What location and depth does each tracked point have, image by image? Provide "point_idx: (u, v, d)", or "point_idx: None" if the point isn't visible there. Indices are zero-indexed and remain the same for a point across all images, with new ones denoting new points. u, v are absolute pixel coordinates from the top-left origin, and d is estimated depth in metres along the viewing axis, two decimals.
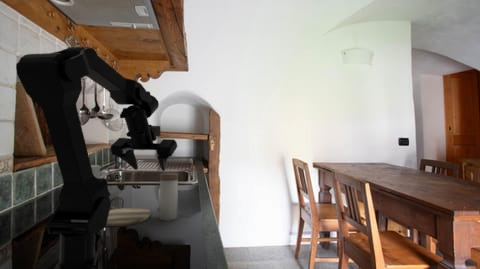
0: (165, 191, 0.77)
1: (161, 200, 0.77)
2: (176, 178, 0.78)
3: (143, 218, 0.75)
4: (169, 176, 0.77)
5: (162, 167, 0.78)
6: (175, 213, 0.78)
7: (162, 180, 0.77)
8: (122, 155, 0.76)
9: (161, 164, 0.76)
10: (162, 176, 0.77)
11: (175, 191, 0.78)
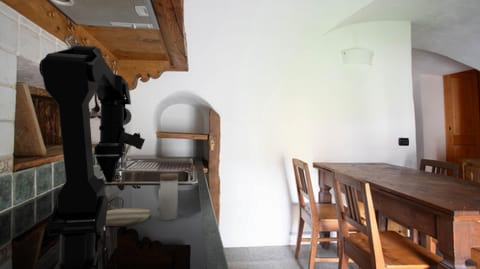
0: (165, 191, 0.77)
1: (161, 200, 0.77)
2: (176, 178, 0.78)
3: (143, 218, 0.75)
4: (169, 176, 0.77)
5: None
6: (175, 213, 0.78)
7: (162, 180, 0.77)
8: None
9: (101, 168, 0.64)
10: (162, 176, 0.77)
11: (175, 191, 0.78)
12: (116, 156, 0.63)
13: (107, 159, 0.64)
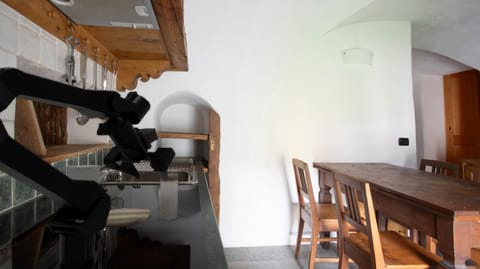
0: (165, 191, 0.77)
1: (161, 200, 0.77)
2: (176, 178, 0.78)
3: (143, 218, 0.75)
4: (169, 176, 0.77)
5: (162, 177, 0.68)
6: (175, 213, 0.78)
7: (162, 180, 0.77)
8: (117, 168, 0.67)
9: (160, 175, 0.66)
10: None
11: (175, 191, 0.78)
12: None
13: None
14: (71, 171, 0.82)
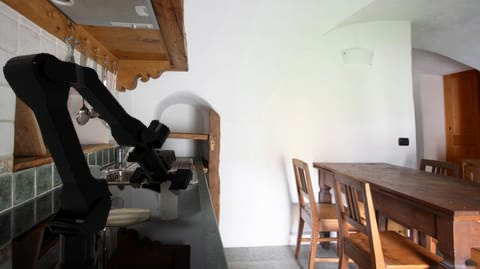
0: (165, 191, 0.77)
1: (161, 200, 0.77)
2: None
3: (143, 218, 0.75)
4: None
5: (176, 194, 0.77)
6: (175, 213, 0.78)
7: None
8: (146, 187, 0.75)
9: (174, 192, 0.76)
10: None
11: None
12: None
13: None
14: None
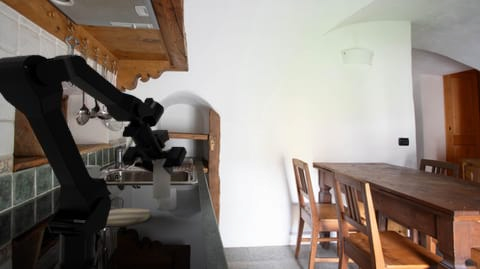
0: (158, 169, 0.77)
1: (154, 179, 0.78)
2: None
3: (143, 218, 0.75)
4: None
5: (169, 173, 0.78)
6: (168, 192, 0.79)
7: None
8: (139, 165, 0.75)
9: (167, 171, 0.76)
10: None
11: None
12: None
13: None
14: None
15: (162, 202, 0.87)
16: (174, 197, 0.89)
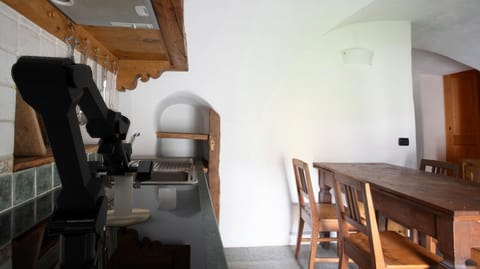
0: (122, 187, 0.76)
1: (117, 197, 0.76)
2: (132, 174, 0.79)
3: (143, 218, 0.75)
4: None
5: (138, 186, 0.78)
6: (131, 208, 0.79)
7: (118, 176, 0.76)
8: None
9: (137, 184, 0.77)
10: None
11: (131, 186, 0.79)
12: None
13: None
14: None
15: (162, 202, 0.87)
16: (174, 197, 0.89)
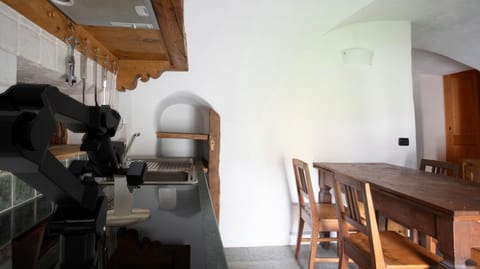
0: (122, 187, 0.76)
1: (117, 197, 0.76)
2: None
3: (143, 218, 0.75)
4: None
5: (131, 191, 0.69)
6: (131, 208, 0.79)
7: (118, 176, 0.76)
8: None
9: (130, 189, 0.67)
10: None
11: None
12: None
13: None
14: None
15: (162, 202, 0.87)
16: (174, 197, 0.89)
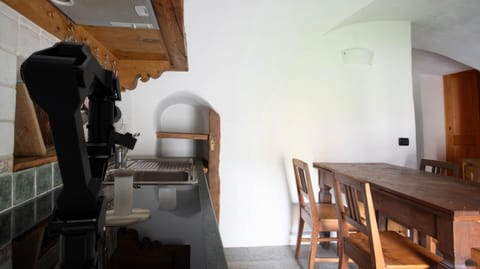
0: (122, 187, 0.76)
1: (117, 197, 0.76)
2: (132, 174, 0.79)
3: (143, 218, 0.75)
4: (127, 172, 0.77)
5: None
6: (131, 208, 0.79)
7: (118, 176, 0.76)
8: None
9: None
10: (119, 172, 0.76)
11: (131, 187, 0.79)
12: (104, 158, 0.57)
13: (94, 161, 0.58)
14: None
15: (162, 202, 0.87)
16: (174, 197, 0.89)
